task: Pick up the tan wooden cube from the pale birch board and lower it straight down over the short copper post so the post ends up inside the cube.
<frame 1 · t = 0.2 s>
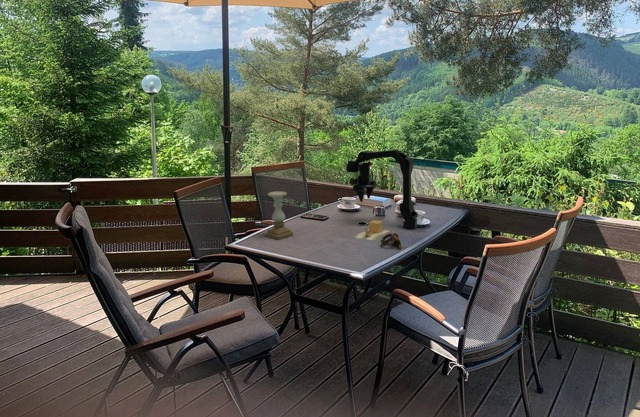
hand: (364, 200, 278), 14 cm above the table, tool pointing down, fingers open, 9 cm apart
copper post: (367, 236, 254), resting on birch board
candle holder: (279, 236, 263), on the table
tan wooden cube: (375, 231, 262), point 1 cm above the table, touching birch board
brown striped lump: (392, 247, 239), on the table
birch board: (372, 235, 259), on the table
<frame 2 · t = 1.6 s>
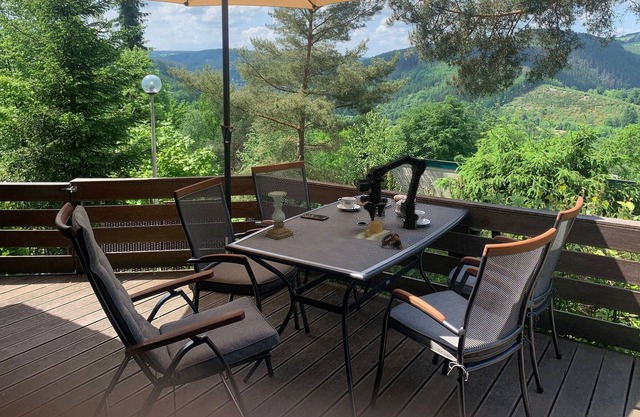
hand: (376, 218, 261), 8 cm above the table, tool pointing down, fingers open, 9 cm apart
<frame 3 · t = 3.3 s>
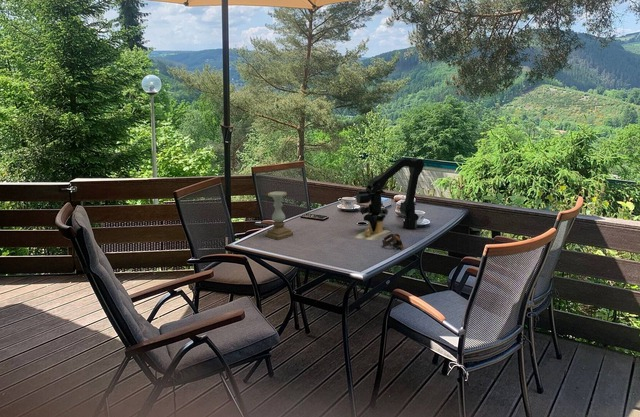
hand: (376, 230, 262), 2 cm above the table, tool pointing down, fingers closed on tan wooden cube, 5 cm apart
tan wooden cube: (375, 231, 262), point 1 cm above the table, touching birch board, gripper
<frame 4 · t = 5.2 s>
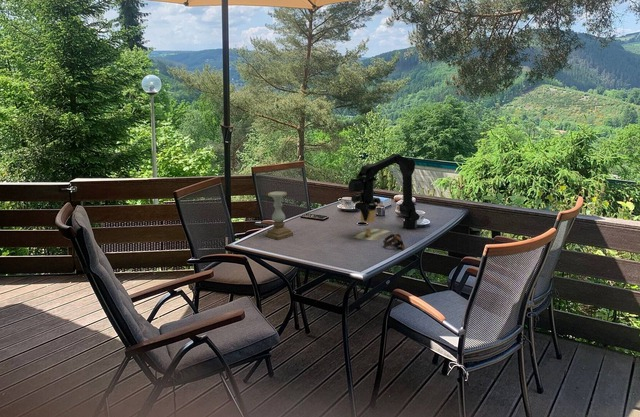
hand: (367, 219, 252), 10 cm above the table, tool pointing down, fingers closed on tan wooden cube, 5 cm apart
tan wooden cube: (367, 221, 253), point 9 cm above the table, touching gripper
when the fingers open (3 cm above the table, at t = 7.6 s): tan wooden cube drops 2 cm, resting on birch board.
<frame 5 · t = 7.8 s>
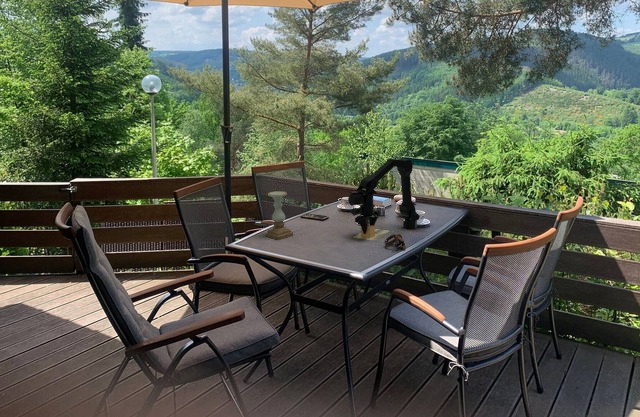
hand: (367, 231, 254), 3 cm above the table, tool pointing down, fingers open, 8 cm apart
tan wooden cube: (367, 236, 254), point 1 cm above the table, touching birch board
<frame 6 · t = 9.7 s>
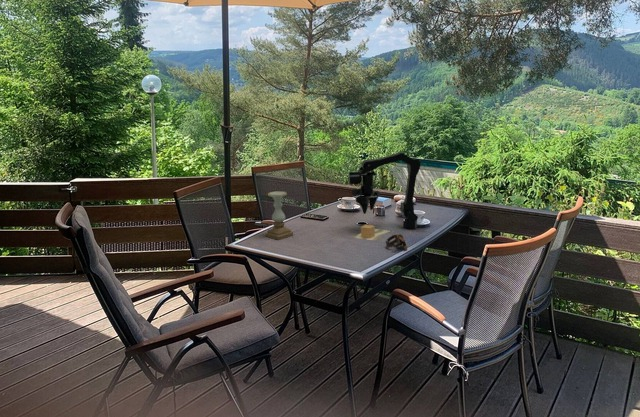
hand: (368, 211, 263), 11 cm above the table, tool pointing down, fingers open, 9 cm apart
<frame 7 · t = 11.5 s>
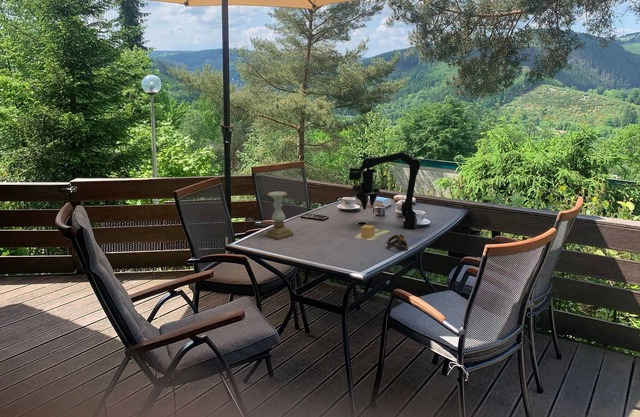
hand: (368, 207, 270), 12 cm above the table, tool pointing down, fingers open, 9 cm apart
at the end: tan wooden cube 0.0 cm off-centre on the copper post, point 0.0 cm above the copper post's base; tan wooden cube tilted 0°; the gripper is holding nothing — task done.
